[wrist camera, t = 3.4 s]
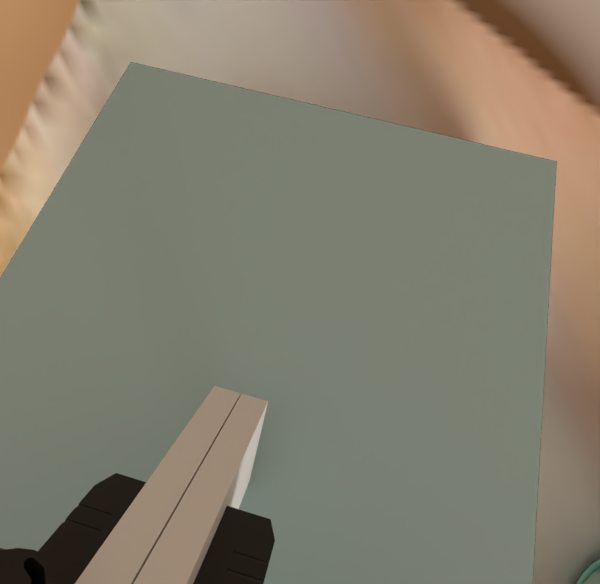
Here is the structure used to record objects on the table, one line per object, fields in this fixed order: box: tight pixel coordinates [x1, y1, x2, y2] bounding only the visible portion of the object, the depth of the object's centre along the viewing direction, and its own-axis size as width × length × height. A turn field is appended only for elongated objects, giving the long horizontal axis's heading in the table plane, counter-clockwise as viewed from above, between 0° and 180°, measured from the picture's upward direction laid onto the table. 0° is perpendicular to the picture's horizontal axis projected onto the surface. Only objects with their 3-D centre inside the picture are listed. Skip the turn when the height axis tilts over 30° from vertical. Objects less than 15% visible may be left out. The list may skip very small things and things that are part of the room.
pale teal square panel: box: [0, 62, 557, 584], centre depth 17 cm, size 19×18×1 cm
